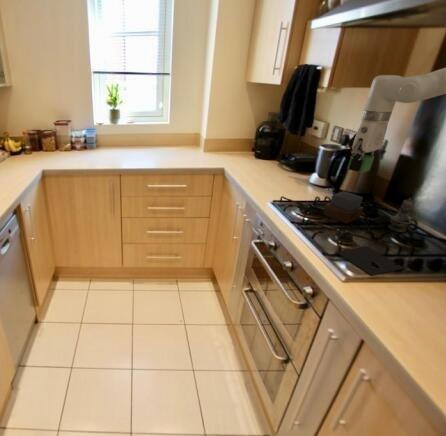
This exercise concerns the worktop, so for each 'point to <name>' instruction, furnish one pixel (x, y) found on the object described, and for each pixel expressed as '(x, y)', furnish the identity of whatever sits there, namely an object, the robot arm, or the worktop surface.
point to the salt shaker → (402, 217)
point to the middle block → (346, 200)
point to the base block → (342, 213)
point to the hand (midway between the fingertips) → (358, 168)
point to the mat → (369, 260)
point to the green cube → (364, 163)
